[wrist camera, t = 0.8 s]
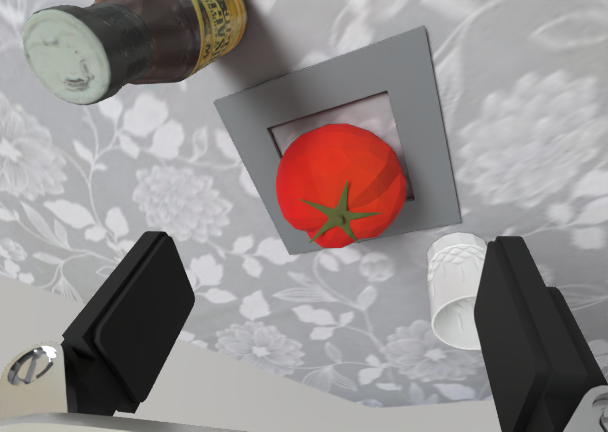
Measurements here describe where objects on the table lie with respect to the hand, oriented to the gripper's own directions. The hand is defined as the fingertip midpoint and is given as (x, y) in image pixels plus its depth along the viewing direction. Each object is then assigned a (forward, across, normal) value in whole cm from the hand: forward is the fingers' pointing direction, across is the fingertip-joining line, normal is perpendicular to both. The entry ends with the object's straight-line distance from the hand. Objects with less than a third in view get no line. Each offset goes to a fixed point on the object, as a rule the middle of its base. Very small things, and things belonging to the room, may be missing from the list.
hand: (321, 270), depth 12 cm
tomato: (+27, +2, +10) cm, 29 cm away
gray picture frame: (+27, +2, +10) cm, 29 cm away
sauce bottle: (+27, +12, -4) cm, 30 cm away
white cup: (+27, -11, +23) cm, 37 cm away
